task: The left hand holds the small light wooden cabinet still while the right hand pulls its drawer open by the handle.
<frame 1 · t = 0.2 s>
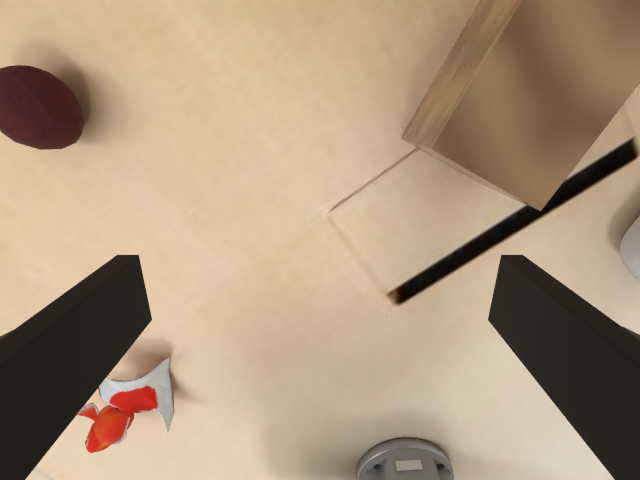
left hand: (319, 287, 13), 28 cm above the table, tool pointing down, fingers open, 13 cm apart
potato: (64, 110, 37), on the table
fish: (142, 381, 50), on the table
cabinet: (490, 87, 36), on the table
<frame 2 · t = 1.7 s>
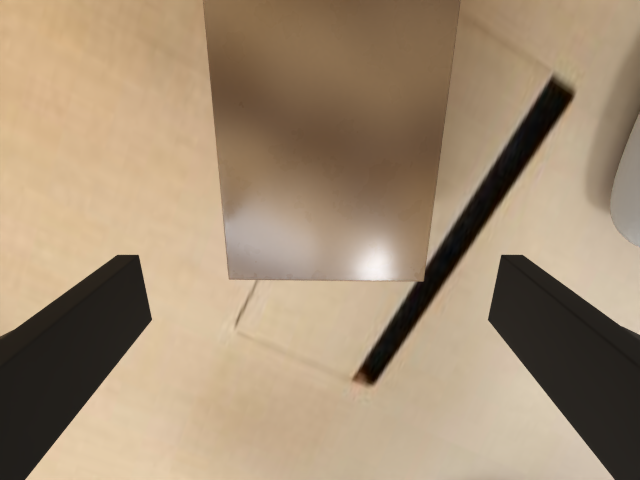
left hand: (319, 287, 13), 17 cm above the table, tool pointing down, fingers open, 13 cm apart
cabinet: (325, 116, 27), on the table
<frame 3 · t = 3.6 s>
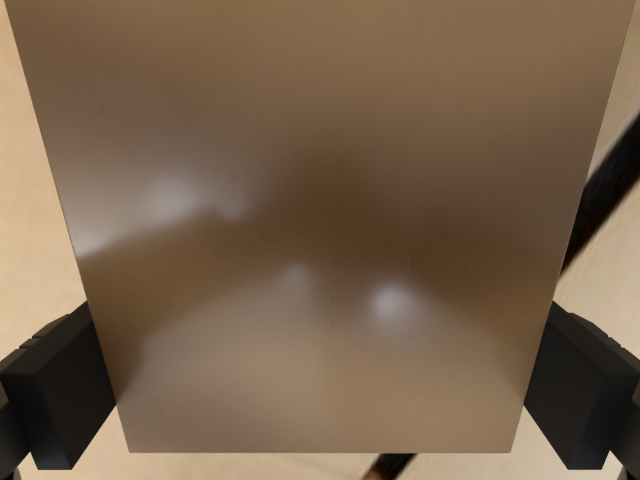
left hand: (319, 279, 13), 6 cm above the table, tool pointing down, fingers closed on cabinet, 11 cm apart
cabinet: (319, 125, 17), on the table, touching left hand
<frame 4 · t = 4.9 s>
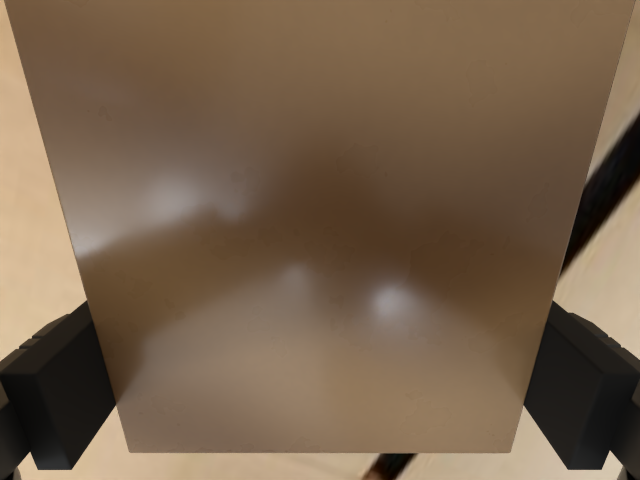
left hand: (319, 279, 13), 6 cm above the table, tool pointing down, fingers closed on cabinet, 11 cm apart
cabinet: (319, 125, 17), on the table, touching left hand
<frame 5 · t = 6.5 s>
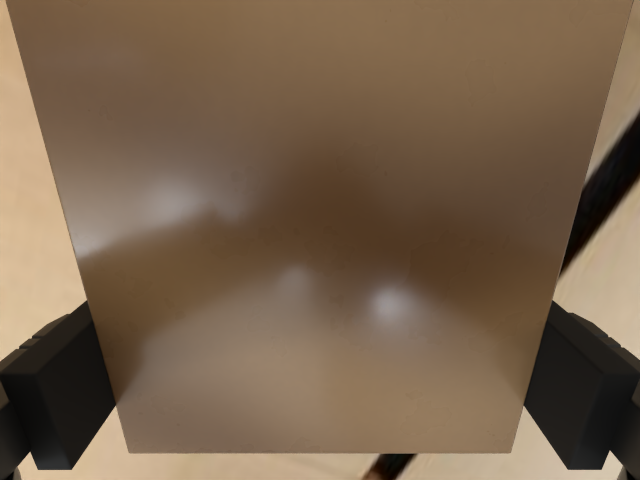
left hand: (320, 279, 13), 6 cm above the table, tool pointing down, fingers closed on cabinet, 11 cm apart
cabinet: (319, 126, 17), on the table, touching left hand
when the left hand's fingers open (6 cm above the table, at t = 8.4 s): cabinet stays where it is, on the table.
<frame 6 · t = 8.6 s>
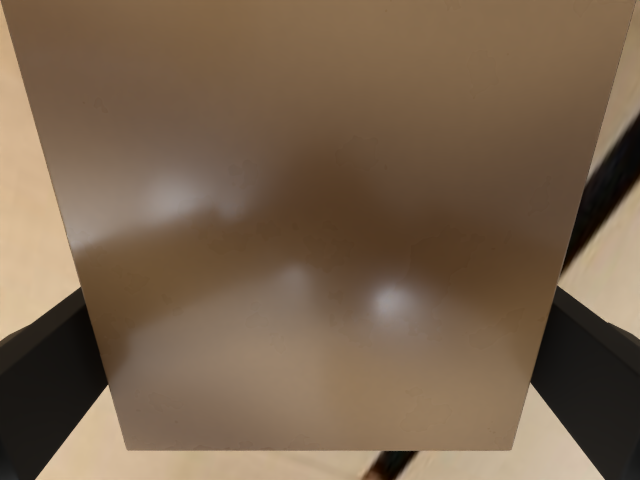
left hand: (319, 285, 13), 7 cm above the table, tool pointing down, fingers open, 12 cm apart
cabinet: (319, 122, 17), on the table
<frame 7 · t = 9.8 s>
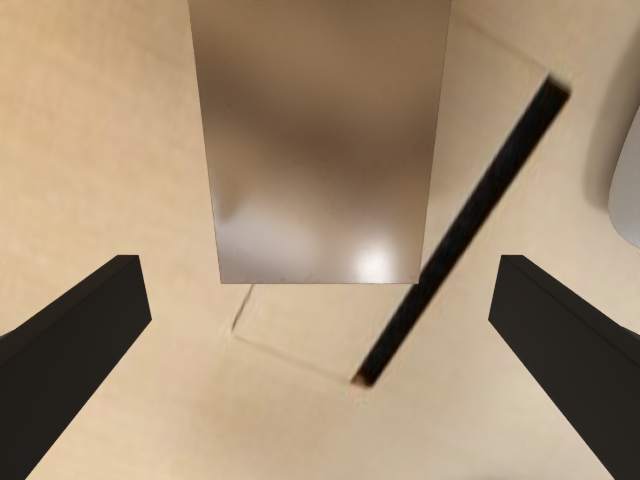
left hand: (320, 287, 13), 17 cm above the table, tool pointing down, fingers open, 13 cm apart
cabinet: (319, 117, 26), on the table
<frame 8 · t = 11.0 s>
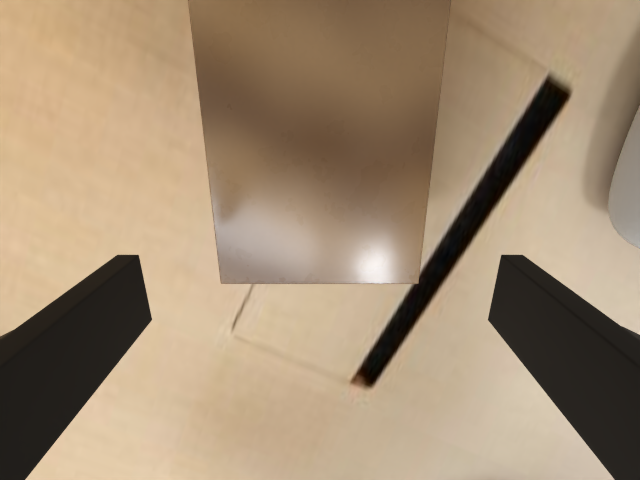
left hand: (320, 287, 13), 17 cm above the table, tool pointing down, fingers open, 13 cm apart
cabinet: (319, 117, 26), on the table
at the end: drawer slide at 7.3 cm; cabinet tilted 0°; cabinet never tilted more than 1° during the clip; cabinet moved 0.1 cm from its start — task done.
